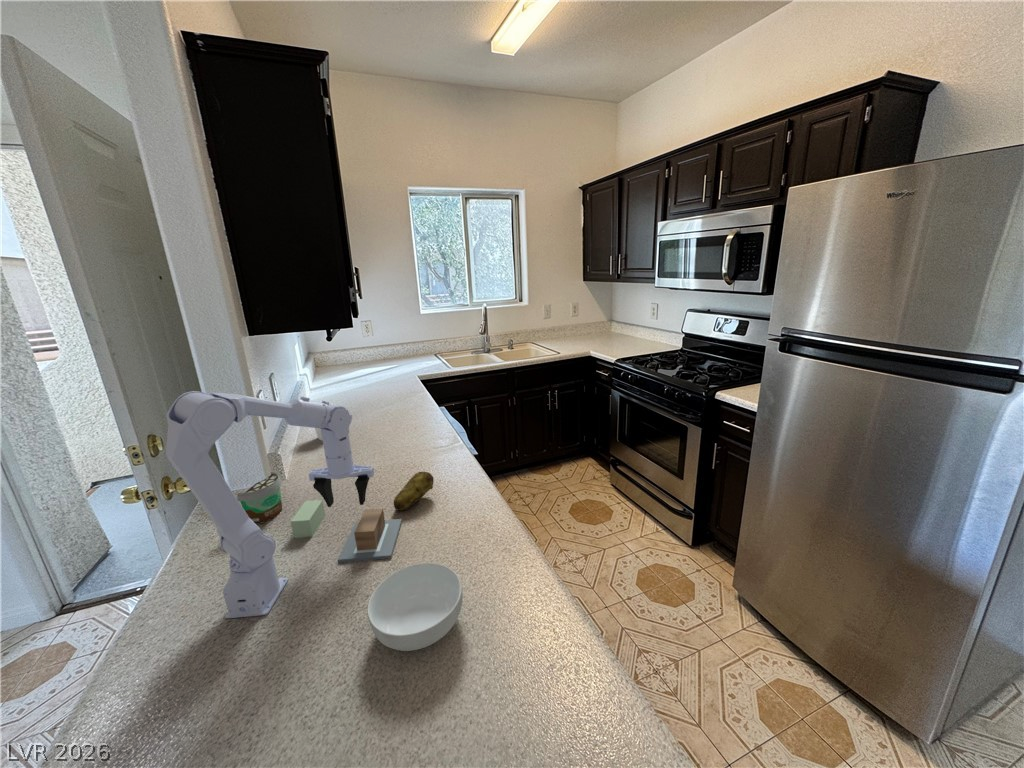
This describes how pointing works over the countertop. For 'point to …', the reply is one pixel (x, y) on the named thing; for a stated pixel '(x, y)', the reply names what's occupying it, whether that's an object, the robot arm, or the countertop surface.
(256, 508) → the food container
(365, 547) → the walnut brick
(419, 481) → the potato
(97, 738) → the countertop surface
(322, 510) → the green brick
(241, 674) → the countertop surface
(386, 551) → the board
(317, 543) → the countertop surface
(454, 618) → the cereal bowl
